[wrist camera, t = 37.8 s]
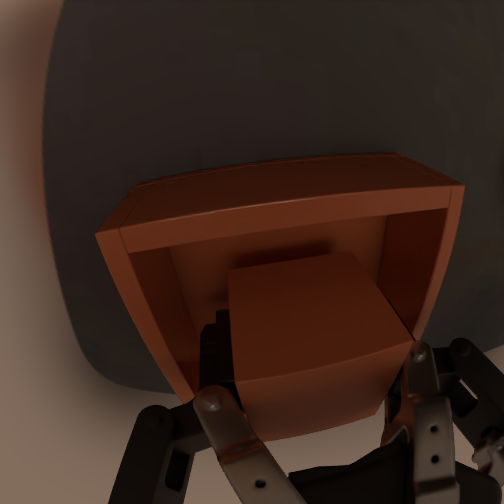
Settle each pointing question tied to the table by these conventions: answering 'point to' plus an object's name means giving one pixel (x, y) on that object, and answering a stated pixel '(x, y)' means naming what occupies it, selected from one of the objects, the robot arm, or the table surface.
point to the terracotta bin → (274, 239)
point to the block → (311, 344)
